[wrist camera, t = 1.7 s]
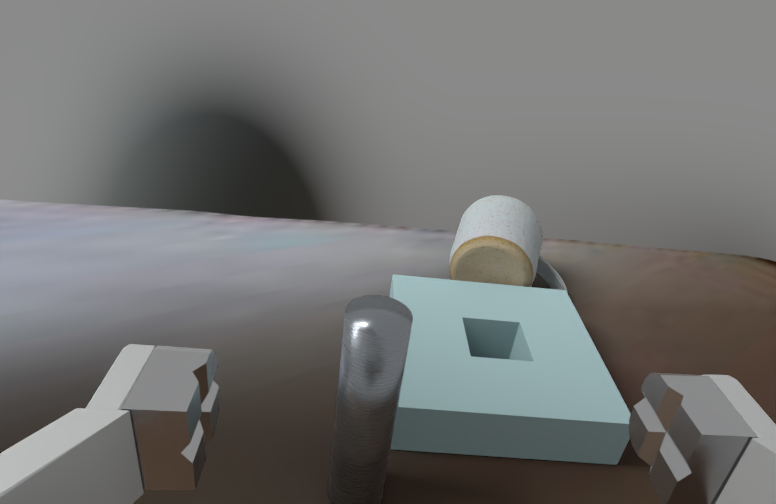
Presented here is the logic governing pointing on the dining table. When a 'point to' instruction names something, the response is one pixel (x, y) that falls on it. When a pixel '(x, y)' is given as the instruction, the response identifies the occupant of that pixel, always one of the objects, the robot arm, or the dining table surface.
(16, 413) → the dining table surface
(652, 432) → the robot arm
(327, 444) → the dining table surface
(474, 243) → the ceramic mug
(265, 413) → the dining table surface
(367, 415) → the pin
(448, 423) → the socket block
